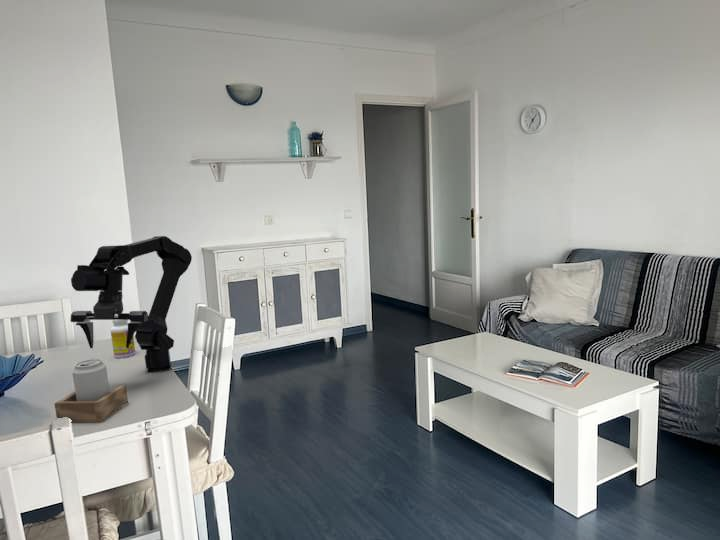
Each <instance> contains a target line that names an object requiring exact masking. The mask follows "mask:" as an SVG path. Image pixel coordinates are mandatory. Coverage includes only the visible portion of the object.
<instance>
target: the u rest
mask: <svg viewBox="0 0 720 540" xmlns="http://www.w3.org/2000/svg"><path fill="white" fill-rule="evenodd" d="M128 399H129V398H128V391H127V385H126V384H121V385H119V386H118V387H116V388H114V389H113V390H111V391H110V393H108V394H107V395H105V396H104V397H102V398H101V399H99V400H97V401H77V399H76V393H75V391H73V392H72V393H70V394H69V395H67V396H65V397H63V398H61V399H59V400H58V401H56V402H54V408H55V416H56V419H57V418H63V417H68V418H70V419H71V420H72V422H71V423H102V422H104V421H105V420H107V419H108V418H109V417H111V416H112V415H113V414H112V413H114V412H115V411H116V410H118V409H119V408H121V407H122V406H123V405H125V404H126V403H128V404H129V400H128ZM126 405H127V404H126ZM126 405H125V406H126ZM123 407H124V406H123ZM123 407H122V408H123ZM122 408H121V409H122ZM119 410H120V409H119ZM119 410H118V411H119ZM116 412H117V411H116ZM116 412H115V413H116ZM115 413H114V414H115ZM111 414H112V415H111ZM110 415H111V416H110ZM108 416H109V417H108ZM107 417H108V418H107ZM106 418H107V419H106ZM104 419H105V420H104ZM103 420H104V421H103Z"/></svg>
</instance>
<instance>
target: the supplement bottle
mask: <svg viewBox="0 0 720 540" xmlns="http://www.w3.org/2000/svg"><path fill="white" fill-rule="evenodd" d="M111 321H112V325H113V326H112V327H111V328H110V336H111V342H112V348H113V349H112V350H113V356H114V358H116V359H123V358H130V357H132V356H134V355H135V354H136V347H135V340H134V339H135V337H133V338H132V340H131V343H130V345H129V347H128V348H126V340H127V332H128V323H129V320H111Z"/></svg>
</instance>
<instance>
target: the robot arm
mask: <svg viewBox="0 0 720 540" xmlns="http://www.w3.org/2000/svg"><path fill="white" fill-rule="evenodd" d="M154 252H155V253H156V255H157V257H159V259H161V267H162V271H163V272H162V273H163V274H162V275H161V276H162V277H161V279H160V282H159V284H158V288H157V290H156V294H155V295H154V299H153V302H152V305H151V308H150V311H149V313H148V312H147V311H146V310H131V311H129V313H127V312H126V313H123V312H124V303H123V297H124V296H123V278H124V276H128V275H130V272H129V271H128V270H127V269H126V268H125V267H124V266H125V265H127V264H128V263H130V262H131V261H132V260H133V259H135V258H136V257H137V258H138V257H141V256H144V255H146V254H147V255H148V254H151V253H154ZM192 258H193V257H192V253H191V252H190V250H189V249H187V248H185V247H184V246H183V245H181V244H179V243H178V242H176V241H173V240H172V238H169V237H168V236H165V235H160V236H159V235H158V236H153V237H152V238H151V237H150V238H147V239H143V240H139V241H135V242H131V243H128V244H123V245H122V244H120V245H101V246H100V247H99V248H98V249H97V252H96V254H95V255H94V257H93V259H92V260H91V262H90V263H89V265H87V264H86V265H85V264H80V265H79V264H78V265H77V267H76V270H75V271H74V272H73V274H72V277H70V281H71V284H70V285H71V287H72V289H73V290H74V291H76V292H99V294H98V297H97V302H96V303H95V304H94V305H93V310H73V312H71V314H70V323H75V326H78V327H79V326H80V328H81V329H82V330H83V333H84V335H85V337H86V340H87V342H88V346H89V348H90V349H94V343H95V342H94V341H95V340H94V322H93V321H97V320H98V321H100V320H101V321H102V320H104V321H105V320H108V321H112V320H128V321H129V322H127V323H128V332H127V340H126V348H128V347H129V345H130V343H131V340H132V338H134V339H135V340H136V343H137V344H138V345H139V348H140V349H141V351H144V350H145V355H144V360H145V367H146V369H147V373H154V372H160V371H165V370H166V371H167V370H171V369H172V368H171V367H172V363H173V362H172V361H171V353H170V350H171V349H172V348H174V345H175V344H174V343H175V340H174V339H173V338H172V337H171V336H170V335H168V325H167V322H166V320H167V316H168V313H169V309H170V307H171V303H172V301H173V297H174V295H175V292H176V289H177V286H178V282H179V279H180V277H181V276H183V274H185V272H187V270H188V269H189V267H190V266H191V263H192ZM92 320H93V321H92ZM134 335H135V336H134Z"/></svg>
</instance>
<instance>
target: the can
mask: <svg viewBox="0 0 720 540" xmlns="http://www.w3.org/2000/svg"><path fill="white" fill-rule="evenodd" d="M73 366H74V368H73V370H72V371H71V372H72V378H73V385H74V392H75V393H76V399H77V401H97V400H99V399H101V398H102V397H104V396H105V395H107V394H108V393H110V392H111V391H110V384H109V377H108V369H107V364H105V363H104V362H103V359H102V358H89V359H83V360H81V361H77V362H76V363H74V365H73Z"/></svg>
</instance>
